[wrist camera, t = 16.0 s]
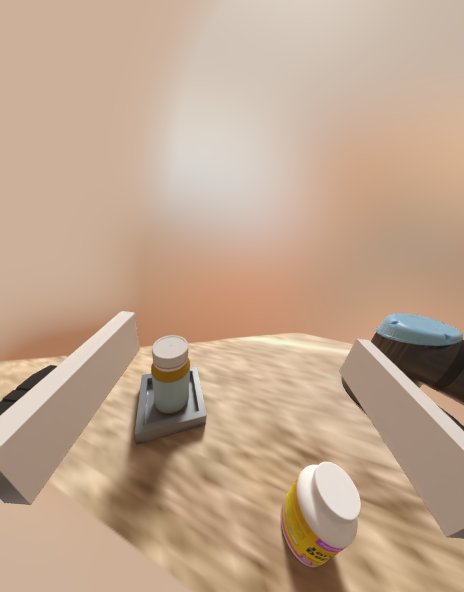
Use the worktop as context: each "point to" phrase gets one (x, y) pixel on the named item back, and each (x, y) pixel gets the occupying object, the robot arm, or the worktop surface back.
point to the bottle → (170, 374)
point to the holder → (159, 424)
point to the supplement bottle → (320, 513)
